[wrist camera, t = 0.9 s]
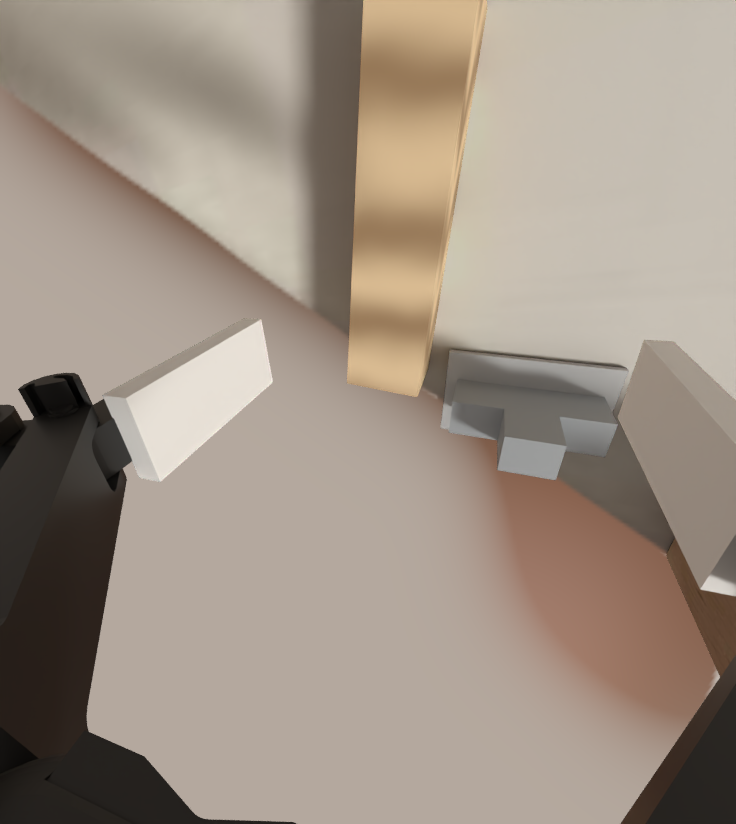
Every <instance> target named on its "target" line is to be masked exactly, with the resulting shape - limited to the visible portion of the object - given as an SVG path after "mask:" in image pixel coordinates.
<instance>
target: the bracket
mask: <svg viewBox="0 0 736 824" xmlns="http://www.w3.org/2000/svg"><path fill="white" fill-rule="evenodd" d="M628 372H629V371H628V369H627V368H621V367H611V366H602V365H592V364H583V363H573V362H564V361H554V360H545V359H536V358H526V357H517V356H507V355H498V354H488V353H479V352H469V351H460V350H451V349H450V352H449V360H448V369H447V377H446V386H445V394H444V403H443V412H442V420H441V428H442V429H449V433H455V434H461V435H467V436H474V437H480V438H486V439H493V440H498V450H497V456H498V457H497V459H498V460H497V470H500V471H505V472H511V473H517V474H522V475H528V476H534V477H540V478H545V479H551V480H556V478H557V475H558V472H559V469H560V466H561V463H562V460H563V456H564V453H565V451H568V452H575V453H581V454H587V455H594V456H600V457H605V456H606V454H607V451H608V449H609V446H610V444H611V441H612V439H613V436H614V434H615V431H616V429H617V426H618V423H617V421H616V419H615V417H614V415H613V411H614V408H615V406H616V403H617V400H618V398H619V395H620V393H621V390H622V387H623V385H624V382H625V380H626V377H627V374H628Z"/></svg>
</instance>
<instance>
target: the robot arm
mask: <svg viewBox="0 0 736 824" xmlns="http://www.w3.org/2000/svg"><path fill="white" fill-rule="evenodd" d="M271 383H273V380H272V375H271V369H270V364H269V359H268V353H267V348H266V342H265V337H264V332H263V326H262V321H261V319H247V318H246V319H245V318H244V319H242V320H240V321H239V322H237V323H235V324H233V325H231V326H229V327H228V328H226V329H224V330H222V331H220V332H218V333H216V334H214V335H213V336H211V337H209V338H207V339H205V340H203V341H202V342H200V343H198V344H196V345H194V346H192V347H190V348H189V349H187V350H185V351H183V352H181V353H180V354H177V355H176V356H174V357H172V358H170V359H168V360H166V361H165V362H163V363H161V364H159V365H158V366H155V367H153V368H152V369H150V370H148V371H146V372H144V373H143V374H140V375H139V376H137V377H135V378H133V379H131V380H129V381H128V382H126V383H124V384H122V385H120V386H118V387H117V388H115V389H113V390H111V391H109V392H107V393H105V394H104V395H103V398H104V399H103V400H101V401H99V402H98V403H96V404H94V405H92V402H91V400H90V398H89V396H88V394H87V392H86V390H85V388H84V386H83V383H82V381H81V379H80V377H79V375H77V374H75V373H61V374H54V375H50V376H45V377H42V378H39V379H36V380H33V381H31V382H29V383H27V384H24V385H23V386H22V387H20V388H19V389H18V390H19V391H20V393H21V395H22V397H23V399H24V400H25V402H26V404H27V406H28V407H29V409H30V411H31V413H32V414H33V416H34V418H33V420H25V421H22V419H21V418H20V416H19V414H18V413H17V411H16V409H15V408H14V406H11V405H0V824H296V823H294V822H271V821H239V820H236V821H235V820H208V819H203V818H200V817H198V816H196V815H195V814H194V813H193V812H192V811H191V810H190V809H189V807H188V806H187V805H186V804H185V803H184V802H183V801H182V799H181V798H180V797H179V796H178V795H177V794H176V792H175V791H174V790H173V789H172V788H171V787H170V786H169V784H168V783H167V782H166V781H165V780H164V779H163V777H162V776H161V775H160V774H159V773H158V772H157V771H156V769H155V768H154V767H153V766H152V765H151V764H150V762H149V761H148V760H147V759H146V758H145V757H144V756H142V755H140V754H137V753H135V752H133V751H131V750H128V749H126V748H124V747H122V746H119V745H117V744H115V743H112V742H110V741H108V740H106V739H103V738H101V737H99V736H96V735H94V734H92V733H90V732H89V731H88V728H87V718H86V715H87V705H88V699H89V694H90V688H91V682H92V676H93V671H94V664H95V659H96V653H97V647H98V642H99V636H100V630H101V625H102V619H103V613H104V607H105V602H106V596H107V590H108V584H109V579H110V573H111V566H112V561H113V556H114V550H115V544H116V538H117V533H118V526H119V521H120V515H121V509H122V504H123V498H124V492H125V487H126V481H127V479H126V475H125V473H124V471H123V467H125V466H126V465H127V464H129V463H130V462H131V461H132V463H133V465H134V467H135V469H136V471H137V474H138V476H139V478H143V479H148V480H153V481H158V482H161V481H162V480H163V479H164V478H165V477H166V476H168V475H169V474H170V473H171V472H172V471H173V470H174V469H175V468H177V467H178V466H179V465H180V464H181V463H182V462H183V461H185V460H186V459H187V458H188V457H189V456H190V455H191V454H192V453H194V452H195V451H196V450H197V449H198V448H199V447H200V446H201V445H202V444H204V443H205V442H206V441H207V440H208V439H209V438H210V437H212V436H213V435H214V434H215V433H216V432H217V431H218V430H219V429H220V428H222V427H223V426H224V425H225V424H226V423H227V422H229V421H230V420H231V419H232V418H233V417H234V416H235V415H236V414H238V413H239V412H240V411H241V410H242V409H243V408H244V407H245V406H247V405H248V404H249V403H250V402H251V401H252V400H253V399H255V397H257V396H258V395H259V394H260V393H261V392H262V391H264V390H265V388H267V387H268V386H269V385H270V384H271ZM618 420H619V422H620V424H621V426H622V428H623V430H624V432H625V434H626V436H627V438H628V440H629V443H630V445H631V447H632V449H633V451H634V453H635V455H636V457H637V459H638V461H639V463H640V465H641V467H642V470H643V472H644V474H645V476H646V478H647V480H648V482H649V484H650V486H651V488H652V490H653V492H654V494H655V497H656V499H657V501H658V503H659V505H660V507H661V509H662V511H663V513H664V515H665V517H666V519H667V522H668V524H669V526H670V528H671V530H672V532H673V534H674V536H675V538H676V540H677V542H678V544H679V546H680V549H681V551H682V553H683V555H684V557H685V559H686V561H687V563H688V565H689V567H690V569H691V571H692V573H693V576H694V578H695V580H696V582H697V584H698V586H699V588H700V589H701V590H706V591H711V592H716V593H721V594H726V595H731V596H736V400H735V399H733V398H732V397H731V396H730V395H729V394H728V393H727V392H726V391H725V390H724V389H723V388H722V387H721V386H720V385H719V384H718V383H717V382H716V381H715V380H713V379H712V378H711V377H710V376H709V375H708V374H707V373H706V372H705V371H704V370H703V369H702V368H701V367H700V366H699V365H698V364H697V363H696V362H695V361H694V360H692V359H691V358H690V357H689V356H688V355H687V354H686V353H685V352H684V351H683V350H682V349H681V348H680V347H679V346H678V345H677V344H676V343H675V342H672V341H654V340H644V342H643V344H642V347H641V350H640V353H639V356H638V359H637V362H636V365H635V368H634V371H633V374H632V377H631V380H630V383H629V385H628V388H627V391H626V394H625V397H624V400H623V403H622V406H621V409H620V412H619V415H618ZM621 824H736V655H735V657H734V658H733V659H732V661H731V662H730V664H729V665H728V667H727V668H726V670H725V671H724V673H723V674H722V676H721V677H720V679H719V680H718V681H717V683H716V684H715V686H714V687H713V689H712V690H711V692H710V693H709V695H708V696H707V698H706V699H705V701H704V702H703V703H702V705H701V706H700V708H699V709H698V711H697V712H696V714H695V715H694V717H693V718H692V720H691V721H690V723H689V724H688V726H687V727H686V728H685V730H684V731H683V733H682V734H681V736H680V737H679V739H678V740H677V742H676V743H675V745H674V746H673V747H672V749H671V750H670V752H669V753H668V755H667V756H666V758H665V759H664V761H663V762H662V764H661V765H660V767H659V768H658V769H657V771H656V772H655V774H654V775H653V777H652V778H651V780H650V781H649V783H648V784H647V786H646V787H645V789H644V790H643V791H642V793H641V794H640V796H639V797H638V799H637V800H636V802H635V803H634V805H633V806H632V808H631V809H630V811H629V812H628V813H627V815H626V816H625V818H624V819H623V821H622V822H621Z"/></svg>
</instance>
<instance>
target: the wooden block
mask: <svg viewBox="0 0 736 824" xmlns="http://www.w3.org/2000/svg"><path fill="white" fill-rule="evenodd" d="M667 559H668V561H669V563H670V566H671V568H672V570H673V572H674V575H675V577H676V579H677V581H678V584H679V586H680V588H681V590H682V593H683V595H684V597H685V599H686V601H687V604H688V606H689V608H690V610H691V613H692V615H693V617H694V619H695V622H696V624H697V626H698V628H699V630H700V633H701V635H702V637H703V640H704V642H705V644H706V646H707V648H708V651H709V653H710V655H711V657H712V659H713V662H714V664H715V666H716V669H717V671H718V673H719V675H720V677H721V676H722V674H723V673H724V671H725V670H726V668H727V667H728V665H729V664H730V662H731V661H732V659H733V658H734V657H735V655H736V596H731V595H726V594H721V593H716V592H711V591H706V590H701V589H700V588H699V586H698V584H697V582H696V580H695V578H694V576H693V573H692V571H691V569H690V567H689V565H688V563H687V561H686V559H685V557H684V555H683V553H682V551H681V549H680V546H679V544H678V542H677V540H676V538H675V539H674V541H673V543H672V545H671V546H670V548H669V550H668V552H667Z"/></svg>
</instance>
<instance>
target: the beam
mask: <svg viewBox="0 0 736 824" xmlns="http://www.w3.org/2000/svg"><path fill="white" fill-rule="evenodd" d="M486 13H487V0H363V19H362V43H361V66H360V90H359V114H358V137H357V161H356V185H355V208H354V232H353V256H352V279H351V303H350V327H349V350H348V352H349V353H348V374H347V383H349V384H354V385H358V386H364V387H368V388H373V389H379V390H384V391H389V392H394V393H399V394H404V395H409V396H414V397H417V396H418V394H419V391H420V389H421V386H422V383H423V381H424V378H425V376H426V373H427V371H428V366H429V360H430V354H431V348H432V342H433V336H434V330H435V324H436V318H437V311H438V305H439V299H440V293H441V287H442V281H443V275H444V269H445V263H446V257H447V250H448V244H449V238H450V232H451V226H452V220H453V214H454V208H455V202H456V196H457V189H458V183H459V177H460V171H461V165H462V159H463V153H464V147H465V141H466V135H467V128H468V122H469V116H470V110H471V104H472V98H473V92H474V86H475V80H476V74H477V67H478V61H479V55H480V49H481V43H482V37H483V31H484V25H485V19H486Z"/></svg>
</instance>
